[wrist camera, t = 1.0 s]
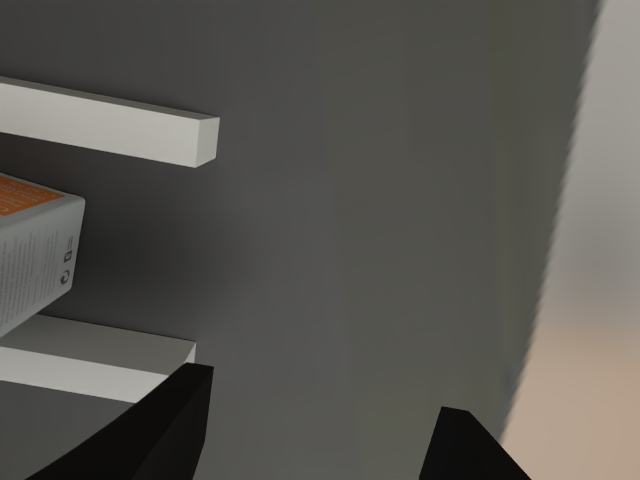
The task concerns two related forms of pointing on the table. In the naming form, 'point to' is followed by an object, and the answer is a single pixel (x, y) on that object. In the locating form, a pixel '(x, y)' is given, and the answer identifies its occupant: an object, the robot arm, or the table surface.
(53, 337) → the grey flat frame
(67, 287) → the skincare box
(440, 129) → the table surface
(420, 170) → the table surface
